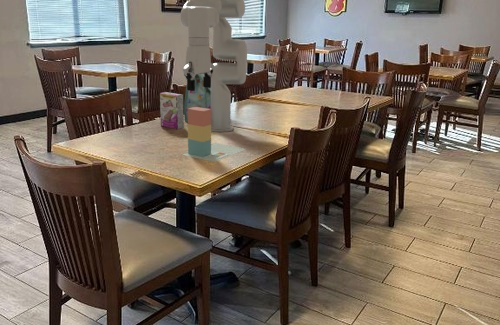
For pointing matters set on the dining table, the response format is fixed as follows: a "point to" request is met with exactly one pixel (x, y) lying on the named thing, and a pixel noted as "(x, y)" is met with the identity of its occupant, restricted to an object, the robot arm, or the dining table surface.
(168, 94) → the candy bar box
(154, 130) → the dining table surface
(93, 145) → the dining table surface
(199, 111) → the brick
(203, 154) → the tower base
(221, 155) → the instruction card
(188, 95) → the lunch bag
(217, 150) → the mat
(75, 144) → the dining table surface
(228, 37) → the robot arm
